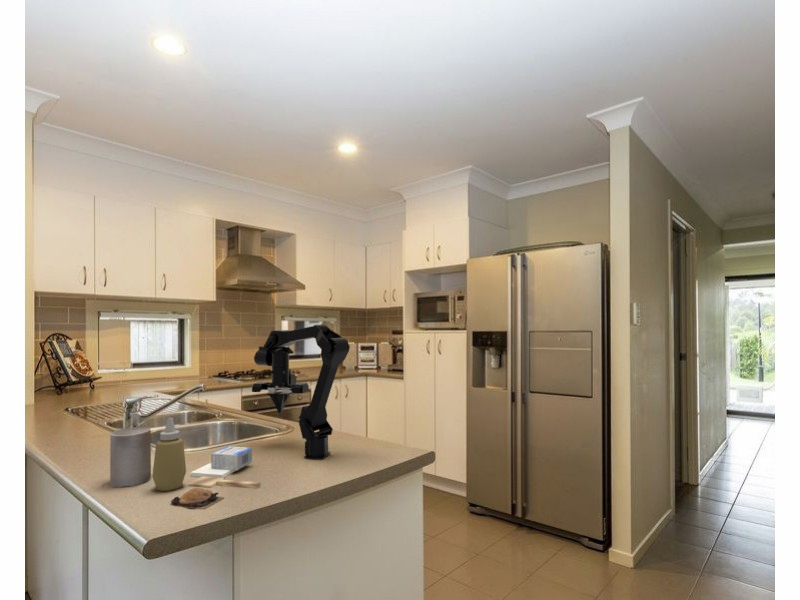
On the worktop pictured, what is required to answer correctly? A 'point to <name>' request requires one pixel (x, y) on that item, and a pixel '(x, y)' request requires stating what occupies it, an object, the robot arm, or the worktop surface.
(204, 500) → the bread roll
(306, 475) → the worktop surface
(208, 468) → the mat
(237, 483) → the wooden turner
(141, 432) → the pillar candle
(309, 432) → the robot arm
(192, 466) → the worktop surface
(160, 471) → the squeeze bottle
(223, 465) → the medicine box
